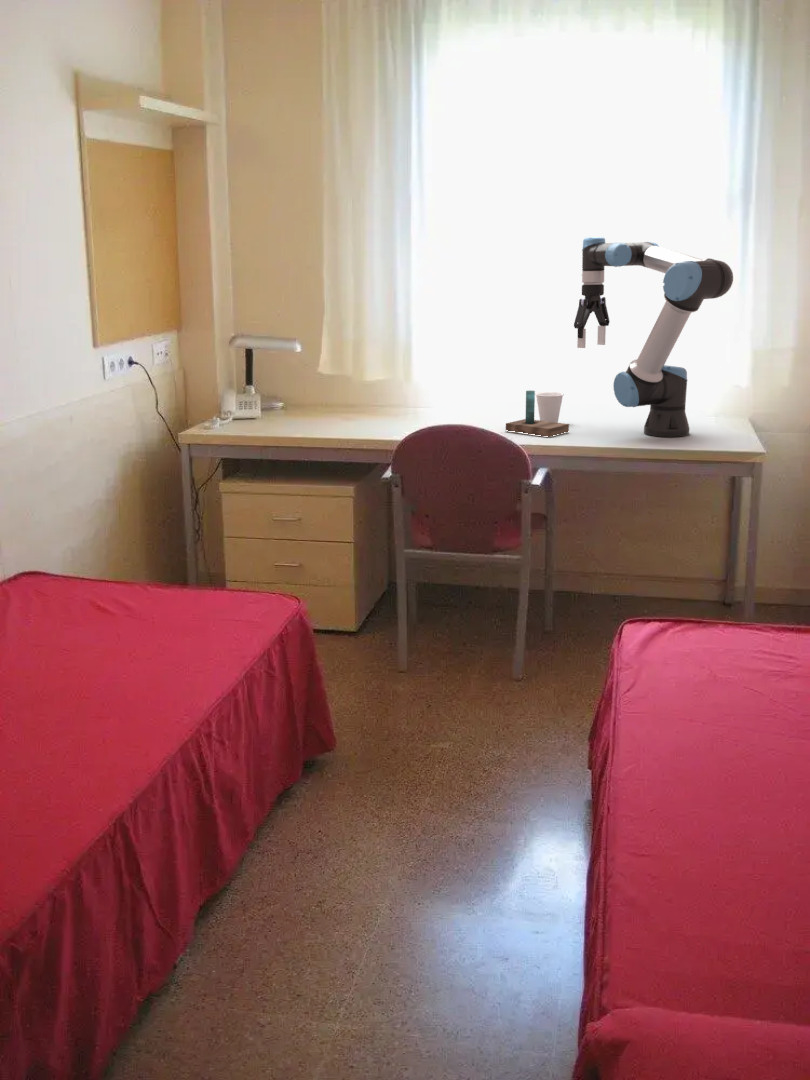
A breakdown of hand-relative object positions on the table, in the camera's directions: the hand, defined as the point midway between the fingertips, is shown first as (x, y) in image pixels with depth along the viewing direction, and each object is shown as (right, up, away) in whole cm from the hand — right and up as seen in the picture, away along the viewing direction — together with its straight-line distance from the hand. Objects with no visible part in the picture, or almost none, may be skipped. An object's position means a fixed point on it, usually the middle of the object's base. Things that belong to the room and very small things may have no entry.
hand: (591, 346), depth 400 cm
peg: (-22, -30, -1) cm, 37 cm away
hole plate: (-19, -30, -3) cm, 36 cm away
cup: (-13, -26, +13) cm, 32 cm away
